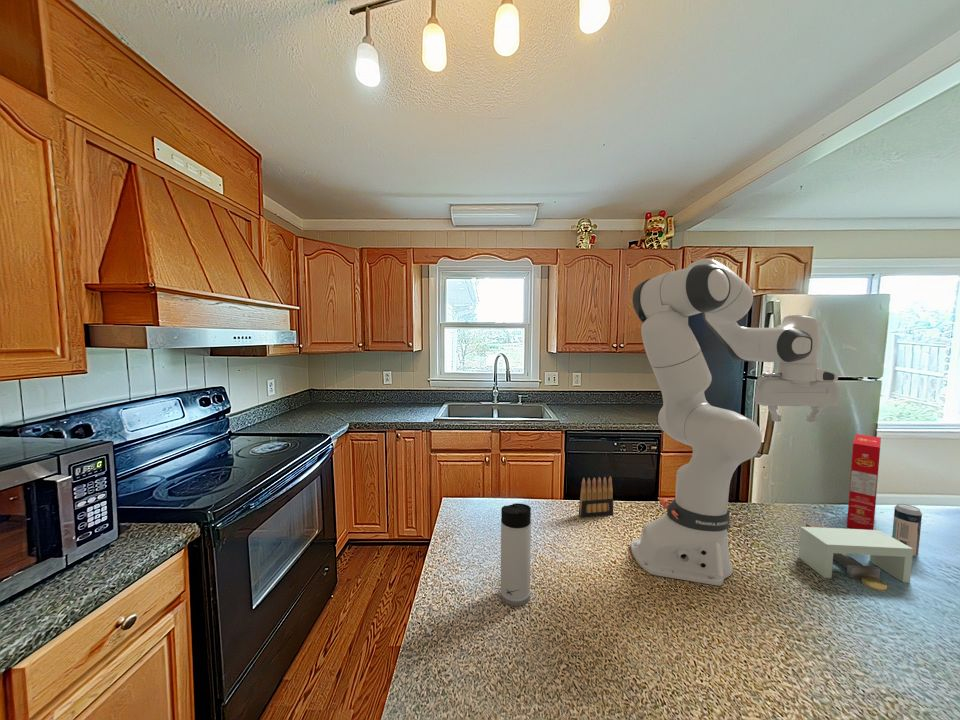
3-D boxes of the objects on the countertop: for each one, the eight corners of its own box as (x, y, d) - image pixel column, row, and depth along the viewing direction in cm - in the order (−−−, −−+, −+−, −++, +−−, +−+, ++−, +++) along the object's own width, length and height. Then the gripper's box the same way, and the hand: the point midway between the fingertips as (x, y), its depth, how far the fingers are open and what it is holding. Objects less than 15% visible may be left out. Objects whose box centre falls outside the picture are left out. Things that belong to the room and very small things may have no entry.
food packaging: (850, 511, 119) (856, 434, 118) (874, 517, 116) (881, 437, 114) (846, 527, 109) (853, 443, 108) (872, 535, 106) (880, 447, 104)
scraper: (850, 578, 87) (852, 557, 86) (798, 540, 103) (800, 522, 102) (879, 580, 86) (881, 559, 86) (822, 541, 102) (824, 523, 102)
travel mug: (511, 612, 76) (512, 516, 75) (495, 592, 82) (495, 502, 80) (536, 601, 79) (538, 509, 77) (519, 583, 85) (520, 496, 83)
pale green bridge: (824, 577, 87) (826, 544, 86) (798, 557, 95) (800, 526, 94) (910, 582, 85) (913, 548, 85) (876, 561, 93) (878, 530, 93)
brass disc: (872, 591, 83) (872, 586, 83) (856, 579, 87) (856, 574, 87) (892, 593, 82) (892, 588, 82) (875, 581, 86) (875, 576, 86)
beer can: (924, 558, 94) (928, 512, 94) (901, 556, 95) (905, 510, 95) (907, 548, 99) (911, 503, 98) (885, 545, 100) (889, 502, 99)
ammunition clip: (581, 517, 115) (582, 479, 114) (578, 514, 117) (579, 476, 116) (613, 514, 117) (614, 477, 116) (610, 511, 119) (611, 474, 118)
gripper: (765, 374, 105) (762, 423, 106) (844, 374, 103) (841, 424, 104) (751, 371, 111) (748, 418, 112) (825, 372, 109) (822, 419, 110)
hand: (793, 421), depth 108 cm, fingers open, 8 cm apart
